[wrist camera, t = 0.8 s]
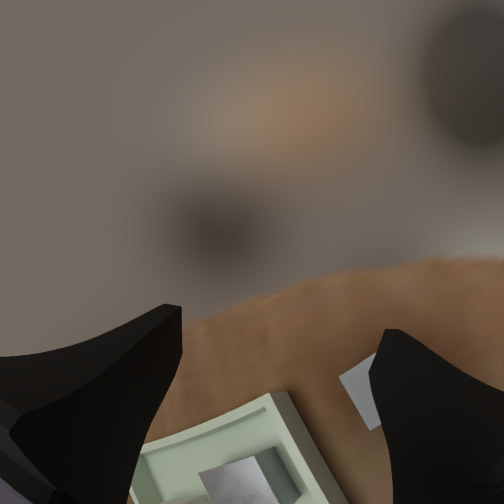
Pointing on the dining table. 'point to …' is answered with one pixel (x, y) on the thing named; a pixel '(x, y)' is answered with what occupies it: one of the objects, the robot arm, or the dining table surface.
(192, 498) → the beige cube
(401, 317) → the dining table surface
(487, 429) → the robot arm
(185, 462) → the crate
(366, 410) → the grey cube
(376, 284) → the dining table surface
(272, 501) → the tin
